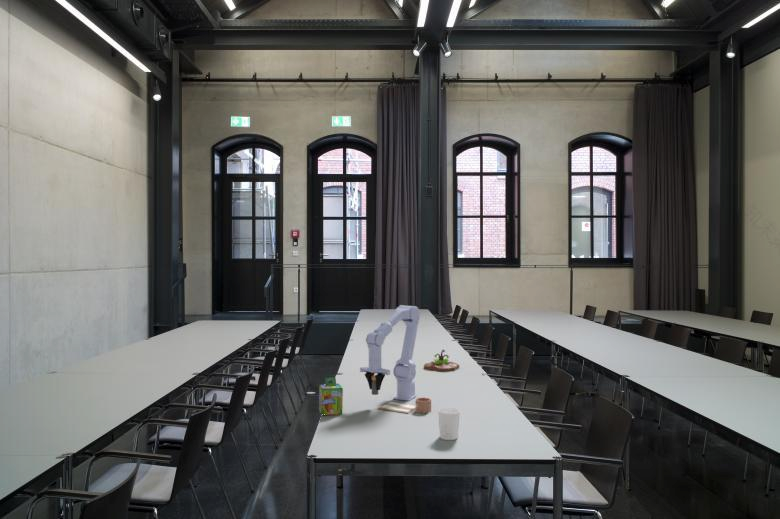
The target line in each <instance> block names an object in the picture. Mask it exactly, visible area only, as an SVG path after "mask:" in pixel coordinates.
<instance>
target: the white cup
mask: <svg viewBox="0 0 780 519" xmlns="http://www.w3.org/2000/svg"><path fill="white" fill-rule="evenodd" d="M460 412H461V411H460V409H457V408H455V407H454V408H453V407H452V408H451V407H443V408H440V409H438V426H439V438H440V439H441V440H445V441H455V440H457V439H458V437H459V428H460Z"/></svg>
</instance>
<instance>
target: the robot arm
mask: <svg viewBox="0 0 780 519" xmlns="http://www.w3.org/2000/svg"><path fill="white" fill-rule="evenodd" d="M420 315H421V311H420V309H419V307H418V306H416V305H403V304H399V306H397V307H396V308H395V312H394V313H393V314H392V316H391V317H390V318H389V319H388V320H387V321H382V322H381V323H380V325H379V326H378V327H376V328H375V329H374V331H370V332H369V333H368V334H367V335H366V338H365V342H366V344H367V348H368V367H365V366H361V367H360V368H359V372H360V373H365V374H364V377H365V378H366V381H367V384H368V386H369V390H372V376H373V375H375V377H376V383H377V390H378V391H380V390H381V387H382V383H383V381H384V378H385V376H390V375H391V369H386V368H382V345H384V343H385V341H386V338H387V337H388V336H389V334H390V333H392V332H393V327H395V326H396V325H397V324H398V323H399V322H401V321H402V322H403V323H404V324H405V327H406V328H405V334H404V339H403V344H402V349H401V354H400V355H401V356H400V358H399V359H398V360H396V361H395V365H394V367H393V370H392V373H393V375H394V377H395V380H396V396H394V397H393V400H399V401H400V400H401V401H411V400H412V399H414V398H416V397H417V394H416V384H415V382H416V381H415V377H416V372H417V371H416V369H417V368H416V366H417V364H416V363H415V362H414V361H413V357H414V356H413V355H414V349H415V345H416V344H415V343H416V338H417V334H418V326H419V322H420Z"/></svg>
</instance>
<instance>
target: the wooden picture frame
mask: <svg viewBox="0 0 780 519" xmlns="http://www.w3.org/2000/svg"><path fill="white" fill-rule="evenodd" d="M377 410H382V411H389V412H393V411H395V413H400V412H401V414H406V413H409V414H410V413H411V412H414V411H416V404H408V403H402V402H401V403H400V402H394V401H388V402H387V403H385V404H383V405H381V406H379V407H377ZM413 410H414V411H413Z"/></svg>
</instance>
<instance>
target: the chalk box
mask: <svg viewBox="0 0 780 519" xmlns="http://www.w3.org/2000/svg"><path fill="white" fill-rule="evenodd" d="M330 381H331V383H329V382H330ZM324 382H325V383H322V384H321V383H320V384H319V385H318V386H319V388H318V391H319V392H318V411H319V413H320V414H321V416H322V414H323V416H324V417H325V416H338V415H339V416H341V414H342V415H343V395H344V394H343V392H344V390H343V389H344V388H343V387H342V385H340V383H337V380H336V377H326V378H325V379H324ZM324 414H325V415H324Z"/></svg>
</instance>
